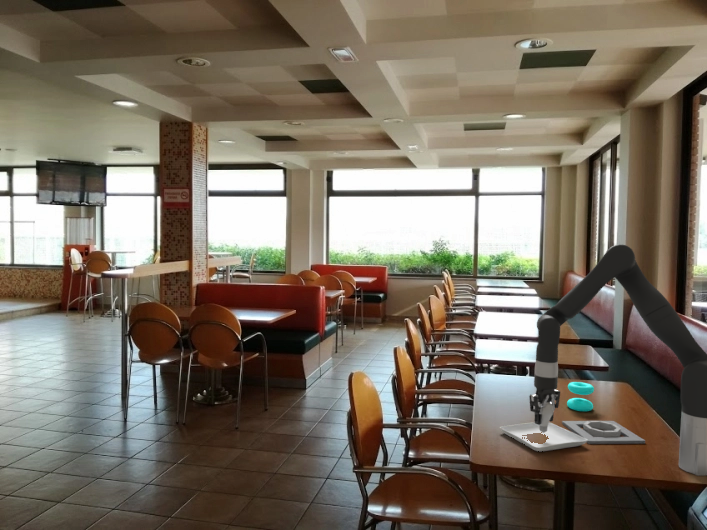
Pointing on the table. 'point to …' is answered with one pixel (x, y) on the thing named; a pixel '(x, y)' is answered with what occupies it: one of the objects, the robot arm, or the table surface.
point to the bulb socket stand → (603, 432)
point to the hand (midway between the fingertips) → (543, 422)
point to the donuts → (580, 403)
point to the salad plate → (555, 434)
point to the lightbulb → (546, 416)
